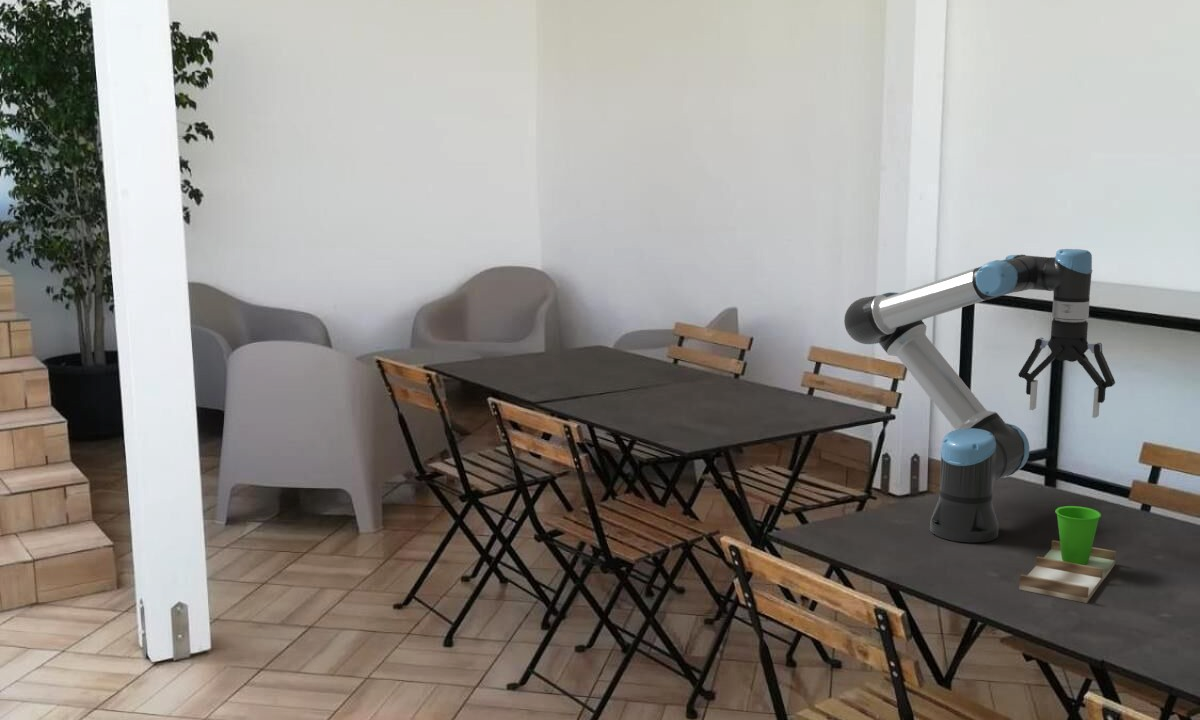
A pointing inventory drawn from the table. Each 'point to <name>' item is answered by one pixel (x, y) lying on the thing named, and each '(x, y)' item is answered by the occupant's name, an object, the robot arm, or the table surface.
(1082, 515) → the cup
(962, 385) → the robot arm
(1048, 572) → the wooden divided tray
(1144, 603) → the table surface
